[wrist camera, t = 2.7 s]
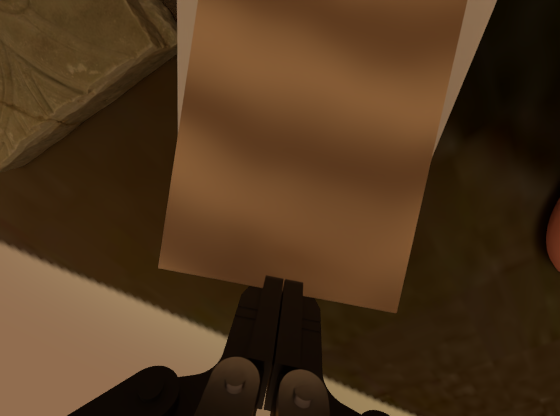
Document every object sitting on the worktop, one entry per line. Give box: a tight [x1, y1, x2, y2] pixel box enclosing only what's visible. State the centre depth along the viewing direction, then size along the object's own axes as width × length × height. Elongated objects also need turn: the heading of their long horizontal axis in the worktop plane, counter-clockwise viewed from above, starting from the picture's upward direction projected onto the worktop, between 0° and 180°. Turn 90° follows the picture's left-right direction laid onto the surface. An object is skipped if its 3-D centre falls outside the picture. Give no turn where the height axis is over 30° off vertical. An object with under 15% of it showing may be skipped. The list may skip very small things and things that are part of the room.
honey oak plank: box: [158, 0, 467, 313], centre depth 14 cm, size 15×12×2 cm
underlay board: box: [177, 0, 497, 156], centre depth 17 cm, size 22×16×2 cm
